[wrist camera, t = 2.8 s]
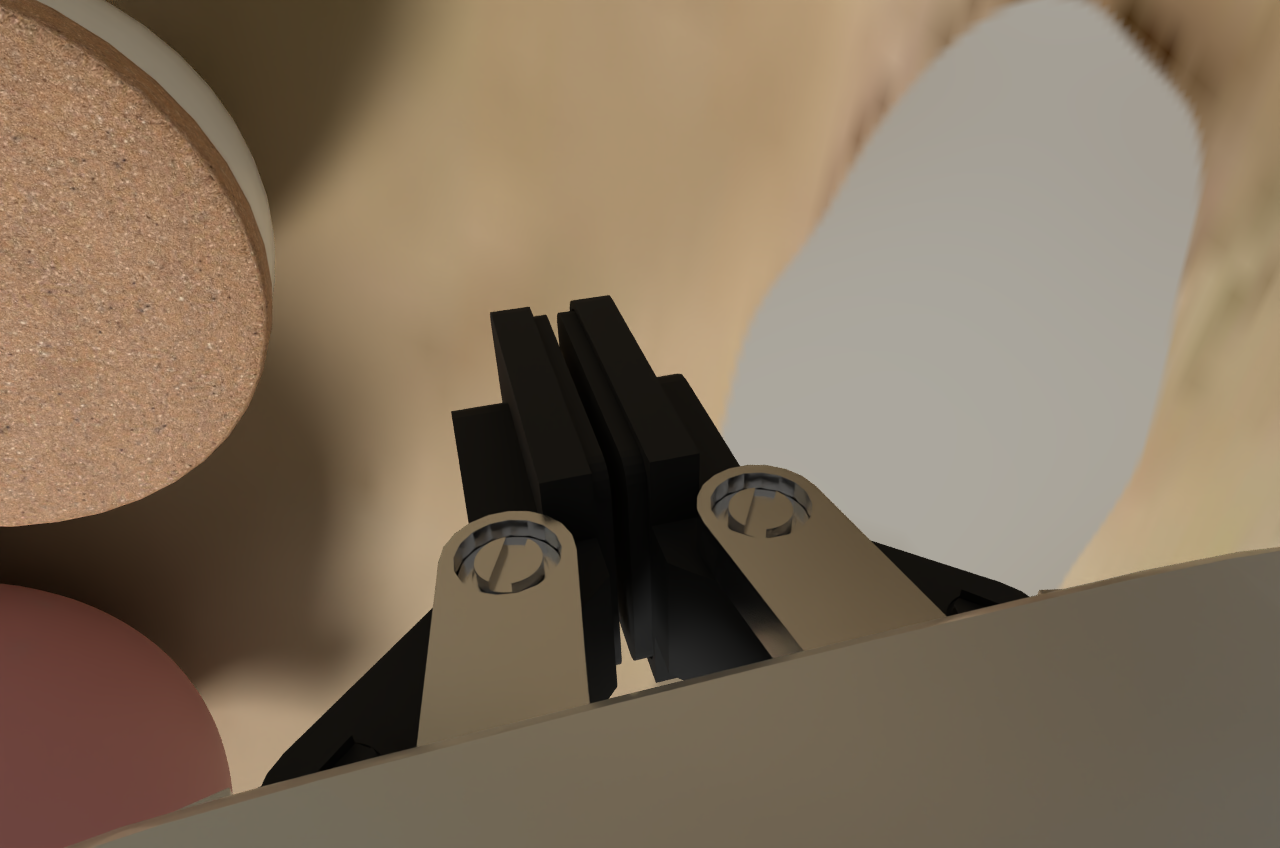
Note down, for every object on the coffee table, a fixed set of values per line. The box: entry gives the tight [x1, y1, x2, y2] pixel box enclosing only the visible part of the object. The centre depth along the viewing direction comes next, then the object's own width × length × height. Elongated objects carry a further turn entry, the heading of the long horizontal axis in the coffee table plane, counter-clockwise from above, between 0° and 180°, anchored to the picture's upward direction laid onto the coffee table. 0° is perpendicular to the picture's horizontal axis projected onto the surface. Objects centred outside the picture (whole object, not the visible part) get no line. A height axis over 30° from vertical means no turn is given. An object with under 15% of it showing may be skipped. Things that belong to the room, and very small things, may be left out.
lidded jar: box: [0, 0, 275, 527], centre depth 17 cm, size 11×11×9 cm
